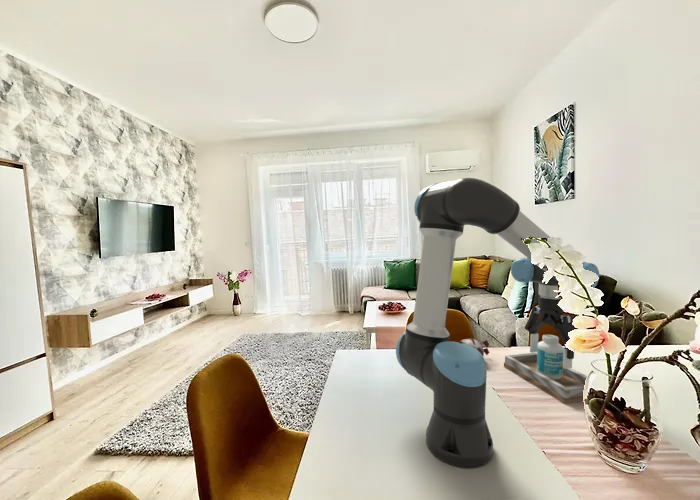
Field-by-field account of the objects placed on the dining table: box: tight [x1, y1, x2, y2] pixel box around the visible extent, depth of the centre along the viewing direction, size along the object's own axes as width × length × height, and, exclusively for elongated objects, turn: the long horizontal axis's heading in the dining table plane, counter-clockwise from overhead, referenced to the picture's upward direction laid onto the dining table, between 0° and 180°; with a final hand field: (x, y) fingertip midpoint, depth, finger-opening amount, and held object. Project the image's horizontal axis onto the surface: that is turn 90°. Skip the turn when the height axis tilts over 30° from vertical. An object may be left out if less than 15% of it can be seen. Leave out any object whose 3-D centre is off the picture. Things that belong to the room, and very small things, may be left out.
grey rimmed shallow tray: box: [503, 352, 588, 404], centre depth 109 cm, size 26×15×4 cm, turn 12°
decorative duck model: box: [459, 338, 490, 357], centre depth 127 cm, size 15×8×15 cm
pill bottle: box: [537, 334, 564, 380], centre depth 108 cm, size 8×7×14 cm
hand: (549, 359), depth 108 cm, fingers open, 13 cm apart
